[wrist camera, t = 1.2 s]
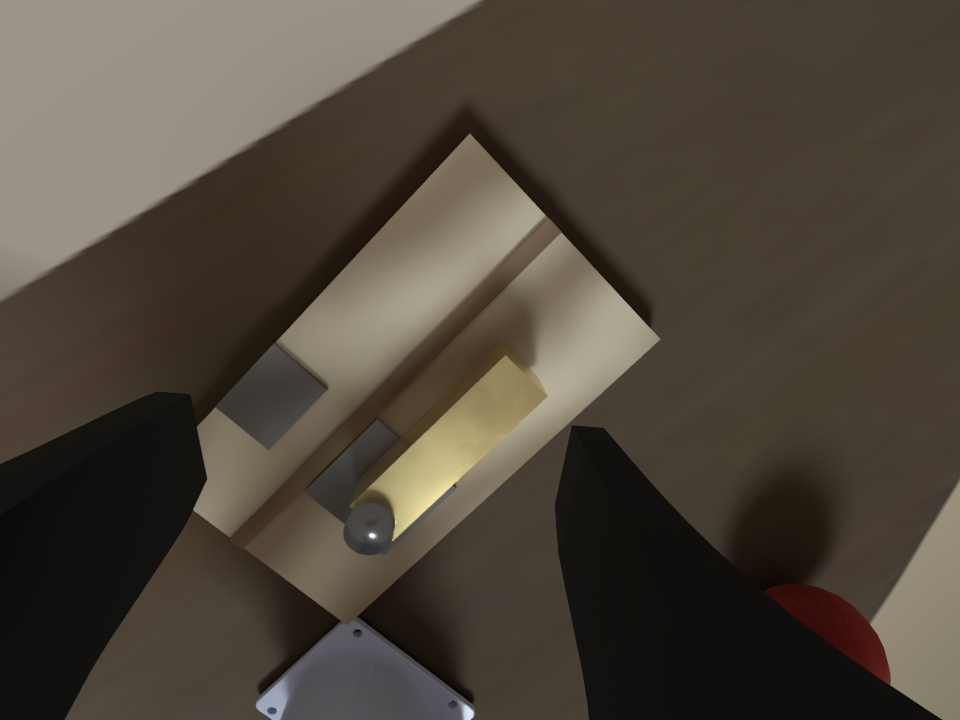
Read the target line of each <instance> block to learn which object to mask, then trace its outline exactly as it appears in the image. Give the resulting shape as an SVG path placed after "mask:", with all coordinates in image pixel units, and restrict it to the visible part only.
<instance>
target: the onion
mask: <svg viewBox="0 0 960 720" xmlns="http://www.w3.org/2000/svg"><path fill="white" fill-rule="evenodd" d="M764 592H765V593H766V594H767V595H768V596H770V597H771V598H772V599H773V600H775V601H776V602H777V603H778V604H780V605H781V606H782V607H783V608H785V609H786V610H787V611H788V612H790V613H791V614H792V615H793V616H795V617H796V618H797V619H799V620H800V621H801V622H803V623H804V624H805V625H807V626H808V627H809V628H811V629H812V630H813V631H815V632H816V633H817V634H819V635H820V636H821V637H823V638H824V639H825V640H827V641H828V642H829V643H831V644H832V645H833V646H835V647H836V648H837V649H839V650H840V651H841V652H843V653H844V654H846V655H847V656H848V657H850V658H851V659H853V660H854V661H856V662H857V663H858V664H860V665H861V666H863V667H864V668H865V669H867V670H868V671H870V672H871V673H873V674H874V675H875V676H877V677H878V678H880V679H881V680H883V681H884V682H886V683H887V684H889V685H890V681H891V680H890V670H889V665H888V662H887V658H886V654H885V650H884V647H883V645H882V643H881V641H880V639H879V637H878V635H877V633H876V632H875V631H874V629H873V628H872V627H871V625H870V624H869V622H868V621H867V620H866V619H865V618H864V617H863V616H862V615H861V614H860V613H859V612H858V611H857V610H856V609H855V608H854V606H853V605H851V604H850V603H848V602H847V601H845V600H844V599H843V598H841V597H840V596H838V595H836V594H833V593H831V592H828V591H826V590H823V589H821V588H818V587H814V586H810V585H800V584H784V585H779V586H775V587H771V588H768V589H767V590H765V591H764Z"/></svg>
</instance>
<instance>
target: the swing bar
mask: <svg viewBox="0 0 960 720" xmlns="http://www.w3.org/2000/svg"><path fill="white" fill-rule="evenodd" d="M547 397H548V396H547V394H546V392H545V390H544V388H543V386H542V384H541V382H540V380H539V378H538V376H537V375H535V374H534V373H533V372H532V371H531V370H530V369H529V368H528V367H527V366H526V365H525V364H524V363H523V362H522V361H521V360H520V359H519V358H518V357H517V356H516V355H515V354H514V353H513V352H512V351H511V350H510V349H509V348H508V347H507V346H506V345H505V344H504V343H503V342H502V341H501V340H500V341H499V342H498V343H497V344H496V345H495V346H494V347H493V348H492V349H491V350H490V351H489V352H488V353H486V354H485V355H484V356H483V357H482V358H481V359H480V360H479V361H478V362H477V363H476V364H475V365H474V366H473V367H472V368H471V369H470V370H469V371H468V372H467V373H466V374H465V375H464V376H463V377H462V378H461V379H460V380H459V381H458V382H457V383H456V384H455V385H454V386H453V387H452V388H451V389H450V390H449V391H448V392H446V393H445V394H444V395H443V396H442V397H441V398H440V399H439V400H438V401H437V402H436V403H435V404H434V405H433V406H432V407H431V408H430V409H429V410H428V411H427V412H426V413H425V414H424V415H423V416H422V417H421V418H420V419H419V420H418V421H417V422H416V423H415V424H414V425H413V426H412V427H411V428H410V429H409V430H408V431H406V432H405V433H404V434H403V435H402V436H401V437H400V438H399V439H398V440H397V441H396V442H395V443H394V444H393V445H392V446H391V447H390V448H389V449H388V450H387V451H386V452H385V453H384V454H383V455H382V456H381V457H380V458H379V459H378V460H377V461H376V462H375V463H374V464H373V465H372V466H371V467H370V468H369V469H367V470H366V471H365V472H364V473H363V474H362V475H361V476H360V479H359V482H358V484H357V487H356V490H355V492H354V495H353V497H352V500H351V503H350V505H349V507H351V510H350V512H349V515H348V518H347V520H346V523H345V526H344V529H343V537H344V540H345V542H346V544H347V545H348V547H349V548H350V549H352V550H353V551H355V552H356V553H359V554H362V555H376V554H379V553H381V552H383V551H384V550H386V549H387V548H388V547H389V545H390V544H391V542H392V541H393V540H394V539H395V538H397V537H398V536H399V535H400V534H401V533H402V532H403V531H404V530H405V529H406V528H407V527H408V526H409V525H411V524H412V523H413V522H414V521H415V520H416V519H417V518H418V517H419V516H420V515H421V514H422V513H423V512H424V511H426V510H427V509H428V508H429V507H430V506H431V505H432V504H433V503H434V502H435V501H436V500H437V499H438V498H439V497H441V496H442V495H443V494H444V493H445V492H446V491H447V490H448V489H449V488H450V487H451V486H452V485H453V484H454V483H456V482H457V481H458V480H459V479H460V478H461V477H462V476H463V475H464V474H465V473H466V472H467V471H468V470H470V469H471V468H472V467H473V466H474V465H475V464H476V463H477V462H478V461H479V460H480V459H481V458H482V457H483V456H485V455H486V454H487V453H488V452H489V451H490V450H491V449H492V448H493V447H494V446H495V445H496V444H497V443H498V442H500V441H501V440H502V439H503V438H504V437H505V436H506V435H507V434H508V433H509V432H510V431H511V430H512V429H513V428H515V427H516V426H517V425H518V424H519V423H520V422H521V421H522V420H523V419H524V418H525V417H526V416H527V415H528V414H530V413H531V412H532V411H533V410H534V409H535V408H536V407H537V406H538V405H539V404H540V403H541V402H542V401H544V400H545V399H546V398H547Z"/></svg>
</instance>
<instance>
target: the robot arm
mask: <svg viewBox="0 0 960 720" xmlns="http://www.w3.org/2000/svg"><path fill="white" fill-rule="evenodd" d="M206 481H207V474H206V469H205V464H204V459H203V455H202V450H201V445H200V440H199V435H198V430H197V425H196V420H195V416H194V411H193V406H192V401H191V396H190V394H180V393H167V392H155V393H152V394H150V395H147V396H145V397H142V398H140V399H138V400H135V401H133V402H131V403H129V404H127V405H124V406H122V407H120V408H118V409H116V410H114V411H112V412H110V413H107V414H105V415H103V416H101V417H99V418H97V419H95V420H93V421H91V422H89V423H87V424H85V425H83V426H81V427H78V428H76V429H74V430H72V431H70V432H68V433H66V434H64V435H62V436H60V437H58V438H56V439H54V440H51V441H49V442H47V443H45V444H43V445H41V446H39V447H37V448H35V449H33V450H31V451H29V452H26V453H24V454H22V455H20V456H17V457H15V458H13V459H11V460H8V461H6V462H4V463H2V464H0V720H65V718H66V716H67V714H68V712H69V710H70V708H71V707H72V705H73V703H74V701H75V699H76V697H77V695H78V694H79V692H80V690H81V688H82V686H83V684H84V683H85V681H86V679H87V677H88V675H89V673H90V671H91V670H92V668H93V666H94V665H95V663H96V661H97V660H98V658H99V656H100V655H101V653H102V652H103V650H104V648H105V647H106V645H107V643H108V642H109V640H110V639H111V637H112V636H113V634H114V633H115V631H116V630H117V628H118V627H119V625H120V624H121V622H122V621H123V619H124V618H125V616H126V615H127V613H128V612H129V610H130V609H131V607H132V606H133V604H134V603H135V601H136V600H137V598H138V597H139V595H140V594H141V592H142V591H143V589H144V588H145V586H146V585H147V583H148V582H149V580H150V579H151V577H152V576H153V574H154V573H155V571H156V570H157V568H158V567H159V565H160V564H161V562H162V561H163V559H164V558H165V556H166V555H167V553H168V552H169V550H170V548H171V547H172V545H173V544H174V542H175V541H176V539H177V538H178V536H179V535H180V533H181V531H182V530H183V528H184V527H185V525H186V523H187V521H188V519H189V517H190V515H191V513H192V511H193V509H194V507H195V505H196V503H197V501H198V498H199V496H200V494H201V492H202V490H203V487H204V485H205V483H206ZM555 514H556V528H557V540H558V552H559V558H560V563H561V569H562V574H563V579H564V584H565V589H566V594H567V599H568V604H569V608H570V613H571V618H572V623H573V628H574V633H575V638H576V643H577V648H578V652H579V657H580V662H581V667H582V672H583V678H584V684H585V691H586V697H587V704H588V713H589V720H942V719H940V718H939V717H937V716H935V715H934V714H932V713H931V712H929V711H928V710H926V709H925V708H923V707H922V706H920V705H919V704H917V703H916V702H914V701H913V700H911V699H910V698H908V697H907V696H905V695H904V694H902V693H901V692H899V691H898V690H896V689H895V688H893V687H892V686H890V685H889V684H887V683H886V682H884V681H883V680H881V679H880V678H878V677H877V676H875V675H874V674H873V673H871V672H870V671H868V670H867V669H865V668H864V667H863V666H861V665H860V664H858V663H857V662H856V661H854V660H853V659H851V658H850V657H848V656H847V655H846V654H844V653H843V652H841V651H840V650H839V649H837V648H836V647H835V646H833V645H832V644H831V643H829V642H828V641H827V640H825V639H824V638H823V637H821V636H820V635H819V634H817V633H816V632H815V631H813V630H812V629H811V628H809V627H808V626H807V625H805V624H804V623H803V622H801V621H800V620H799V619H797V618H796V617H795V616H793V615H792V614H791V613H790V612H788V611H787V610H786V609H785V608H783V607H782V606H781V605H780V604H778V603H777V602H776V601H775V600H773V599H772V598H771V597H770V596H768V595H767V594H766V593H765V592H764V591H763V590H761V589H760V588H759V587H758V586H757V585H756V584H754V583H753V582H752V581H751V580H750V579H749V578H747V577H746V576H745V575H744V574H743V573H742V572H740V571H739V570H738V569H737V568H736V567H735V566H733V565H732V564H731V563H730V562H729V561H728V560H727V559H726V558H725V557H723V556H722V555H721V554H720V553H719V552H718V551H717V550H716V549H715V548H714V547H713V546H712V545H711V544H710V543H709V542H708V541H707V540H706V539H705V538H704V537H702V536H701V535H700V534H699V533H698V532H697V531H696V530H695V529H694V528H693V527H692V526H691V525H690V524H689V523H688V522H687V521H686V520H685V519H684V518H683V517H682V516H681V515H680V514H679V513H678V511H677V510H676V509H675V508H674V507H673V506H672V505H671V504H670V503H669V502H668V501H667V500H666V499H665V498H664V497H663V496H662V494H661V493H660V492H659V491H658V490H657V489H656V488H655V487H654V486H653V485H652V483H651V482H650V481H649V480H648V479H647V478H646V477H645V475H644V474H643V473H642V472H641V471H640V470H639V469H638V467H637V466H636V465H635V464H634V463H633V462H632V460H631V459H630V458H629V457H628V456H627V455H626V453H625V452H624V451H623V450H622V449H621V448H620V446H619V445H618V444H617V443H616V442H615V440H614V439H613V438H612V437H611V436H610V435H609V433H608V432H607V431H606V430H605V429H604V428H598V427H585V426H573V425H572V428H571V432H570V437H569V442H568V446H567V451H566V456H565V460H564V465H563V470H562V474H561V479H560V484H559V488H558V493H557V498H556V502H555ZM356 629H359V630H361V632H357V631H355V630H356ZM451 701H455V702H451ZM256 707H257V709H258V710H259V711H260V712H262V713H263V714H265V715H266V716H268V717H269V718H271V719H272V720H471V719H472V718H473V716H474V706H473V704H472V703H470V702H469V701H468V700H466V699H465V698H464V697H462V696H461V695H460V694H458V693H457V692H456V691H454V690H453V689H452V688H451V687H449V686H448V685H447V684H445V683H444V682H443V681H441V680H440V679H439V678H437V677H436V676H435V675H433V674H432V673H431V672H429V671H428V670H427V669H425V668H424V667H423V666H422V665H420V664H419V663H418V662H416V661H415V660H414V659H412V658H411V657H410V656H408V655H407V654H406V653H404V652H403V651H402V650H400V649H399V648H398V647H396V646H395V645H394V644H392V643H391V642H390V641H389V640H387V639H386V638H385V637H383V636H382V635H381V634H379V633H378V632H377V631H375V630H374V629H373V628H371V627H370V626H369V625H367V624H366V623H365V622H363V621H362V620H361V619H360V618H358V617H356V618H355V619H354V620H353V621H351V622H350V623H349V624H348V625H346V624H345V623H343V622H342V621H340V622H339V623H338V624H337V625H336V626H335V627H334V628H333V629H332V630H331V631H330V632H328V633H327V634H326V635H325V636H324V637H323V638H322V639H321V640H320V641H319V642H318V643H316V644H315V645H314V646H313V647H312V648H311V649H310V650H309V651H308V652H307V653H306V654H304V655H303V656H302V657H301V658H300V659H299V660H298V661H297V662H296V663H295V664H294V665H292V666H291V667H290V668H289V669H288V670H287V671H286V672H285V673H284V674H283V675H282V676H281V677H279V678H278V679H277V680H276V681H275V682H274V683H273V684H272V685H271V686H270V687H269V688H267V689H266V690H265V691H264V692H263V693H262V694H261V695H260V696H259V697H258V699H257V702H256ZM272 707H274V708H272Z"/></svg>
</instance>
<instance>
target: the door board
mask: <svg viewBox="0 0 960 720" xmlns="http://www.w3.org/2000/svg"><path fill="white" fill-rule="evenodd" d="M500 340H501V341H502V342H503V343H504V344H505V345H506V346H507V347H508V348H509V349H510V350H511V351H512V352H513V353H514V354H515V355H516V356H517V357H518V358H519V359H520V360H521V361H522V362H523V363H524V364H525V365H526V366H527V367H528V368H529V369H530V370H531V371H532V372H533V373H534V374H535V375H537V376H538V378H539V380H540V382H541V384H542V386H543V388H544V390H545V392H546V394H547V396H548V397H547V398H546V399H545V400H544V401H542V402H541V403H540V404H539V405H538V406H537V407H536V408H535V409H534V410H533V411H532V412H531V413H530V414H528V415H527V416H526V417H525V418H524V419H523V420H522V421H521V422H520V423H519V424H518V425H517V426H516V427H515V428H513V429H512V430H511V431H510V432H509V433H508V434H507V435H506V436H505V437H504V438H503V439H502V440H501V441H500V442H498V443H497V444H496V445H495V446H494V447H493V448H492V449H491V450H490V451H489V452H488V453H487V454H486V455H485V456H483V457H482V458H481V459H480V460H479V461H478V462H477V463H476V464H475V465H474V466H473V467H472V468H471V469H470V470H468V471H467V472H466V473H465V474H464V475H463V476H462V477H461V478H460V479H459V480H458V481H457V482H456V483H454V484H453V485H452V486H451V487H450V488H449V489H448V490H447V491H446V492H445V493H444V494H443V495H442V496H441V497H439V498H438V499H437V500H436V501H435V502H434V503H433V504H432V505H431V506H430V507H429V508H428V509H427V510H426V511H424V512H423V513H422V514H421V515H420V516H419V517H418V518H417V519H416V520H415V521H414V522H413V523H412V524H411V525H409V526H408V527H407V528H406V529H405V530H404V531H403V532H402V533H401V534H400V535H399V536H398V537H397V538H395V539H394V540H393V541H392V542H391V544H390V545H389V547H388V548H387V549H386V550H384V551H383V552H381V553H379V554H376V555H362V554H359V553H356V552H355V551H353V550H352V549H350V548H349V547H348V545H347V544H346V542H345V540H344V537H343V529H344V526H345V523H346V520H347V518H348V515H349V512H350V510H351V507H349V505H350V503H351V500H352V497H353V495H354V492H355V490H356V487H357V484H358V482H359V479H360V476H361V475H362V474H363V473H364V472H365V471H366V470H367V469H369V468H370V467H371V466H372V465H373V464H374V463H375V462H376V461H377V460H378V459H379V458H380V457H381V456H382V455H383V454H384V453H385V452H386V451H387V450H388V449H389V448H390V447H391V446H392V445H393V444H394V443H395V442H396V441H397V440H398V439H399V438H400V437H401V436H402V435H403V434H404V433H405V432H406V431H408V430H409V429H410V428H411V427H412V426H413V425H414V424H415V423H416V422H417V421H418V420H419V419H420V418H421V417H422V416H423V415H424V414H425V413H426V412H427V411H428V410H429V409H430V408H431V407H432V406H433V405H434V404H435V403H436V402H437V401H438V400H439V399H440V398H441V397H442V396H443V395H444V394H445V393H446V392H448V391H449V390H450V389H451V388H452V387H453V386H454V385H455V384H456V383H457V382H458V381H459V380H460V379H461V378H462V377H463V376H464V375H465V374H466V373H467V372H468V371H469V370H470V369H471V368H472V367H473V366H474V365H475V364H476V363H477V362H478V361H479V360H480V359H481V358H482V357H483V356H484V355H485V354H486V353H488V352H489V351H490V350H491V349H492V348H493V347H494V346H495V345H496V344H497V343H498V342H499V341H500ZM659 340H660V338H659V337H658V336H657V335H656V334H655V333H654V332H653V331H652V330H651V329H650V328H649V327H648V325H647V324H646V323H645V322H644V321H643V320H642V319H641V318H640V317H639V316H638V315H637V314H636V313H635V311H634V310H633V309H632V308H631V307H630V306H629V305H628V304H627V303H626V302H625V301H624V300H623V298H622V297H621V296H620V295H619V294H618V293H617V292H616V291H615V290H614V289H613V288H612V287H611V285H610V284H609V283H608V282H607V281H606V280H605V279H604V278H603V277H602V276H601V275H600V274H599V273H598V271H597V270H596V269H595V268H594V267H593V266H592V265H591V264H590V263H589V262H588V261H587V260H586V258H585V257H584V256H583V255H582V254H581V253H580V252H579V251H578V250H577V249H576V248H575V247H574V246H573V244H572V243H571V242H570V241H569V240H568V239H567V238H566V237H565V236H564V235H563V234H562V233H561V231H560V230H559V228H558V227H557V226H556V225H555V224H554V223H553V222H552V221H551V220H550V219H549V218H548V217H547V216H546V215H545V214H544V213H543V212H542V211H541V210H540V209H539V208H538V207H537V206H536V204H535V203H534V202H533V201H532V200H531V199H530V198H529V197H528V196H527V195H526V194H525V193H524V191H523V190H522V189H521V188H520V187H519V186H518V185H517V184H516V183H515V182H514V181H513V180H512V179H511V177H510V176H509V175H508V174H507V173H506V172H505V171H504V170H503V169H502V168H501V167H500V166H499V164H498V163H497V162H496V161H495V160H494V159H493V158H492V157H491V156H490V155H489V154H488V153H487V152H486V150H485V149H484V148H483V147H482V146H481V145H480V144H479V143H478V142H477V141H476V140H475V139H474V137H473V136H472V135H471V134H469V135H468V136H467V137H466V138H465V139H464V140H463V141H462V142H461V143H460V145H459V146H458V147H457V148H456V149H455V150H454V151H453V152H452V153H451V154H450V155H449V156H448V157H447V159H446V160H445V161H444V162H443V163H442V164H441V165H440V166H439V167H438V168H437V169H436V170H435V171H434V173H433V174H432V175H431V176H430V177H429V178H428V179H427V180H426V181H425V182H424V183H423V184H422V185H421V187H420V188H419V189H418V190H417V191H416V192H415V193H414V194H413V195H412V196H411V197H410V198H409V199H408V201H407V202H406V203H405V204H404V205H403V206H402V207H401V208H400V209H399V210H398V211H397V212H396V213H395V215H394V216H393V217H392V218H391V219H390V220H389V221H388V222H387V223H386V224H385V225H384V226H383V227H382V228H381V230H380V231H379V232H378V233H377V234H376V235H375V236H374V237H373V238H372V239H371V240H370V241H369V242H368V244H367V245H366V246H365V247H364V248H363V249H362V250H361V251H360V252H359V253H358V254H357V255H356V256H355V258H354V259H353V260H352V261H351V262H350V263H349V264H348V265H347V266H346V267H345V268H344V269H343V270H342V272H341V273H340V274H339V275H338V276H337V277H336V278H335V279H334V280H333V281H332V282H331V283H330V284H329V286H328V287H327V288H326V289H325V290H324V291H323V292H322V293H321V294H320V295H319V296H318V297H317V298H316V300H315V301H314V302H313V303H312V304H311V305H310V306H309V307H308V308H307V309H306V310H305V311H304V312H303V313H302V315H301V316H300V317H299V318H298V319H297V320H296V321H295V322H294V323H293V324H292V325H291V326H290V327H289V329H288V330H287V331H286V332H285V333H284V334H283V335H282V336H281V337H280V338H279V339H278V340H277V341H276V342H275V343H274V344H273V345H272V346H271V347H270V348H269V349H268V350H267V351H266V352H265V353H264V355H263V356H262V357H261V358H260V359H259V360H258V361H257V362H256V363H255V364H254V365H253V366H252V367H251V369H250V370H249V371H248V372H247V373H246V374H245V375H244V376H243V377H242V378H241V379H240V380H239V381H238V383H237V384H236V385H235V386H234V387H233V388H232V389H231V390H230V391H229V392H228V393H227V394H226V395H225V396H224V398H223V399H222V400H221V401H220V402H219V403H218V404H217V405H216V406H215V408H214V409H213V410H212V411H211V412H210V414H209V415H208V416H207V417H206V418H205V419H204V420H203V421H202V422H201V423H200V424H199V425H198V426H197V430H198V435H199V440H200V445H201V450H202V455H203V459H204V464H205V469H206V474H207V481H206V483H205V485H204V487H203V490H202V492H201V494H200V496H199V498H198V501H197V503H196V505H195V507H194V509H193V510H194V511H195V512H196V513H198V514H199V515H200V516H202V517H203V518H204V519H206V520H207V521H208V522H210V523H211V524H212V525H214V526H215V527H216V528H218V529H219V530H220V531H222V532H223V533H224V534H226V535H227V536H228V537H230V539H229V541H230V542H231V543H233V544H234V545H235V546H237V547H238V548H239V549H241V550H243V549H246V550H247V551H248V552H250V553H251V554H252V555H254V556H255V557H257V558H258V559H259V560H261V561H262V562H263V563H265V564H266V565H267V566H269V567H270V568H271V569H273V570H274V571H275V572H277V573H278V574H279V575H281V576H282V577H283V578H285V579H286V580H287V581H289V582H290V583H291V584H293V585H294V586H295V587H297V588H298V589H299V590H301V591H302V592H303V593H305V594H306V595H307V596H309V597H310V598H311V599H313V600H314V601H315V602H317V603H318V604H319V605H321V606H322V607H323V608H325V609H326V610H327V611H329V612H330V613H331V614H333V615H334V616H335V617H337V618H338V619H339V620H341V621H342V622H343V623H345V624H346V625H348V624H349V623H350V622H351V621H353V620H354V619H355V618H356V617H357V616H358V615H359V614H360V613H361V612H362V611H363V610H365V609H366V608H367V607H368V606H369V605H370V604H371V603H372V602H373V601H374V600H375V599H377V598H378V597H379V596H380V595H381V594H382V593H383V592H384V591H385V590H386V589H388V588H389V587H390V586H391V585H392V584H393V583H394V582H395V581H396V580H397V579H398V578H400V577H401V576H402V575H403V574H404V573H405V572H406V571H407V570H408V569H409V568H411V567H412V566H413V565H414V564H415V563H416V562H417V561H418V560H419V559H420V558H421V557H423V556H424V555H425V554H426V553H427V552H428V551H429V550H430V549H431V548H432V547H434V546H435V545H436V544H437V543H438V542H439V541H440V540H441V539H442V538H443V537H444V536H446V535H447V534H448V533H449V532H450V531H451V530H452V529H453V528H454V527H455V526H457V525H458V524H459V523H460V522H461V521H462V520H463V519H464V518H465V517H466V516H467V515H469V514H470V513H471V512H472V511H473V510H474V509H475V508H476V507H477V506H478V505H479V504H481V503H482V502H483V501H484V500H485V499H486V498H487V497H488V496H489V495H490V494H492V493H493V492H494V491H495V490H496V489H497V488H498V487H499V486H500V485H501V484H502V483H504V482H505V481H506V480H507V479H508V478H509V477H510V476H511V475H512V474H513V473H515V472H516V471H517V470H518V469H519V468H520V467H521V466H522V465H523V464H524V463H525V462H527V461H528V460H529V459H530V458H531V457H532V456H533V455H534V454H535V453H536V452H538V451H539V450H540V449H541V448H542V447H543V446H544V445H545V444H546V443H547V442H548V441H550V440H551V439H552V438H553V437H554V436H555V435H556V434H557V433H558V432H559V431H561V430H562V429H563V428H564V427H565V426H566V425H567V424H568V423H569V422H570V421H571V420H573V419H574V418H575V417H576V416H577V415H578V414H579V413H580V412H581V411H582V410H583V409H585V408H586V407H587V406H588V405H589V404H590V403H591V402H592V401H593V400H594V399H596V398H597V397H598V396H599V395H600V394H601V393H602V392H603V391H604V390H605V389H606V388H608V387H609V386H610V385H611V384H612V383H613V382H614V381H615V380H616V379H617V378H619V377H620V376H621V375H622V374H623V373H624V372H625V371H626V370H627V369H628V368H629V367H631V366H632V365H633V364H634V363H635V362H636V361H637V360H638V359H639V358H640V357H642V356H643V355H644V354H645V353H646V352H647V351H648V350H649V349H650V348H651V347H652V346H654V345H655V344H656V343H657V342H658V341H659Z"/></svg>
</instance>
